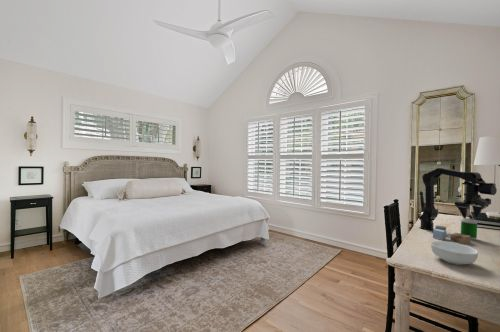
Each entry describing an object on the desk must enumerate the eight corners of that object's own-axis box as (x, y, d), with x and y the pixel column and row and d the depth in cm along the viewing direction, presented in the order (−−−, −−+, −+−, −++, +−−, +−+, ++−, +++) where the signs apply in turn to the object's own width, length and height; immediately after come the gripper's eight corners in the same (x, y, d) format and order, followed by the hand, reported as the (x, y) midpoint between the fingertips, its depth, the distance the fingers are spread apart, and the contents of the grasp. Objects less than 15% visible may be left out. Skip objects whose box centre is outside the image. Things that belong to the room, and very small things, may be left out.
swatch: (443, 236, 154) (443, 235, 154) (447, 235, 156) (447, 234, 156) (453, 238, 150) (453, 238, 150) (456, 237, 152) (456, 237, 152)
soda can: (477, 241, 146) (478, 221, 146) (461, 238, 150) (461, 219, 150) (475, 238, 152) (476, 219, 152) (460, 235, 156) (460, 217, 156)
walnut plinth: (450, 240, 146) (450, 234, 146) (455, 239, 149) (455, 232, 149) (465, 244, 140) (465, 237, 140) (470, 242, 143) (470, 235, 143)
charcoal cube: (435, 234, 159) (435, 226, 159) (436, 232, 163) (436, 225, 163) (444, 235, 156) (445, 228, 156) (445, 234, 159) (446, 226, 159)
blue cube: (432, 237, 151) (433, 229, 151) (436, 236, 154) (437, 228, 154) (442, 240, 147) (442, 231, 147) (446, 238, 149) (446, 230, 149)
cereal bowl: (427, 260, 114) (428, 245, 114) (433, 252, 126) (434, 238, 126) (476, 273, 102) (477, 256, 102) (478, 262, 114) (478, 247, 114)
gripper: (474, 194, 137) (473, 221, 138) (499, 194, 141) (498, 220, 142) (454, 191, 148) (453, 217, 149) (478, 191, 152) (476, 216, 153)
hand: (470, 217), depth 148 cm, fingers open, 9 cm apart
